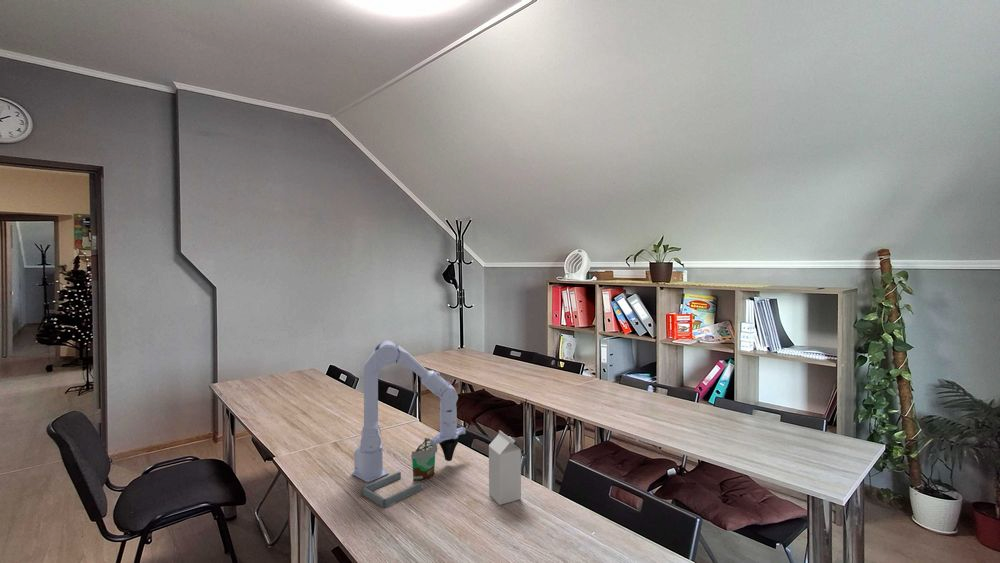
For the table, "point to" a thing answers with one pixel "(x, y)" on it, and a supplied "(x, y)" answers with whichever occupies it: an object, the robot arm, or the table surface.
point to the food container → (424, 461)
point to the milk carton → (504, 469)
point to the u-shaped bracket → (394, 498)
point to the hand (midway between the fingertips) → (448, 459)
